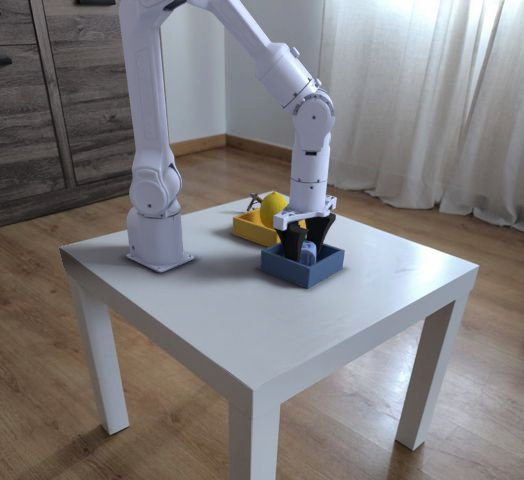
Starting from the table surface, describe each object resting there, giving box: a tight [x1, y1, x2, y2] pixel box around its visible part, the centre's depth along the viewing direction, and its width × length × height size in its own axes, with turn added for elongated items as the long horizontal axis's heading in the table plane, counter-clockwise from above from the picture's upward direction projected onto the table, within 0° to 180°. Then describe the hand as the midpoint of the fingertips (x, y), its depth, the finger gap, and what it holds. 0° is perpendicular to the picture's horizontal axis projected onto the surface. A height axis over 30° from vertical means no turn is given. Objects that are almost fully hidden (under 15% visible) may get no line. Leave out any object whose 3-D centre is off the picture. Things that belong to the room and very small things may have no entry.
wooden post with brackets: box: [246, 192, 263, 212], centre depth 106 cm, size 2×8×4 cm, turn 69°
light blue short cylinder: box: [299, 240, 316, 267], centre depth 83 cm, size 4×4×4 cm
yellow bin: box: [232, 207, 307, 248], centre depth 97 cm, size 11×11×4 cm
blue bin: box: [260, 236, 346, 289], centre depth 84 cm, size 10×10×4 cm
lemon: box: [259, 191, 288, 230], centre depth 95 cm, size 6×6×8 cm
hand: (302, 259), depth 84 cm, fingers closed on light blue short cylinder, 5 cm apart
